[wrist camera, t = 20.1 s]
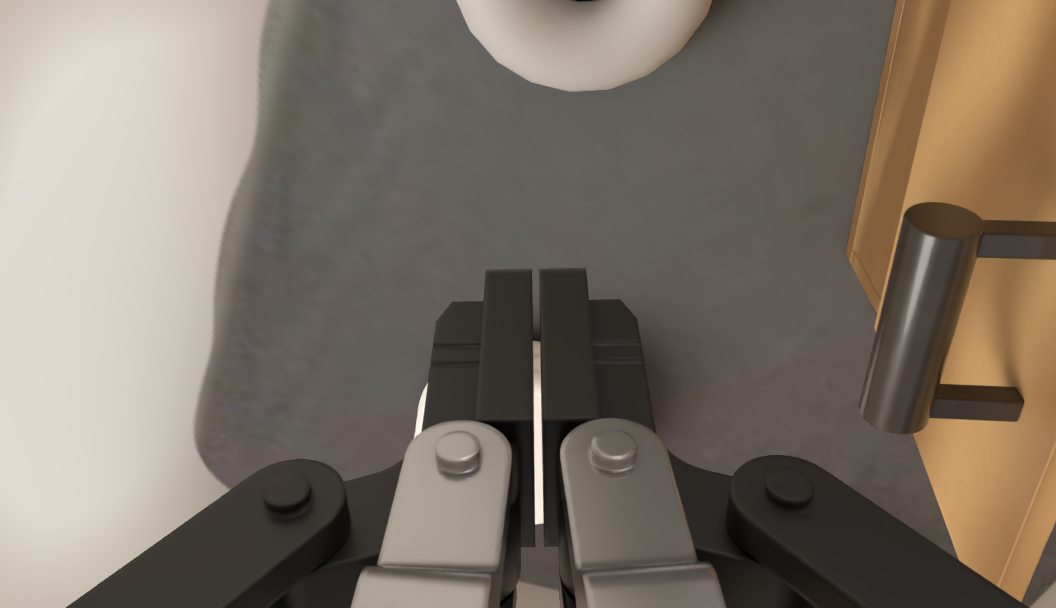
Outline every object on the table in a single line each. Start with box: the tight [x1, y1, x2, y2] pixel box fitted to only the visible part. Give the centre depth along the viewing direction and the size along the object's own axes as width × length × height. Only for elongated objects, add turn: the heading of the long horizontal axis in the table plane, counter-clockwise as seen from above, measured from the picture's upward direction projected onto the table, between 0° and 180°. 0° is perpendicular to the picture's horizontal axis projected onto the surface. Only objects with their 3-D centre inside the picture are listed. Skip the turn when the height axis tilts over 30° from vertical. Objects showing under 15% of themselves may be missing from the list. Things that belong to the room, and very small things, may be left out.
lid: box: [859, 0, 1056, 602], centre depth 28 cm, size 14×18×5 cm
